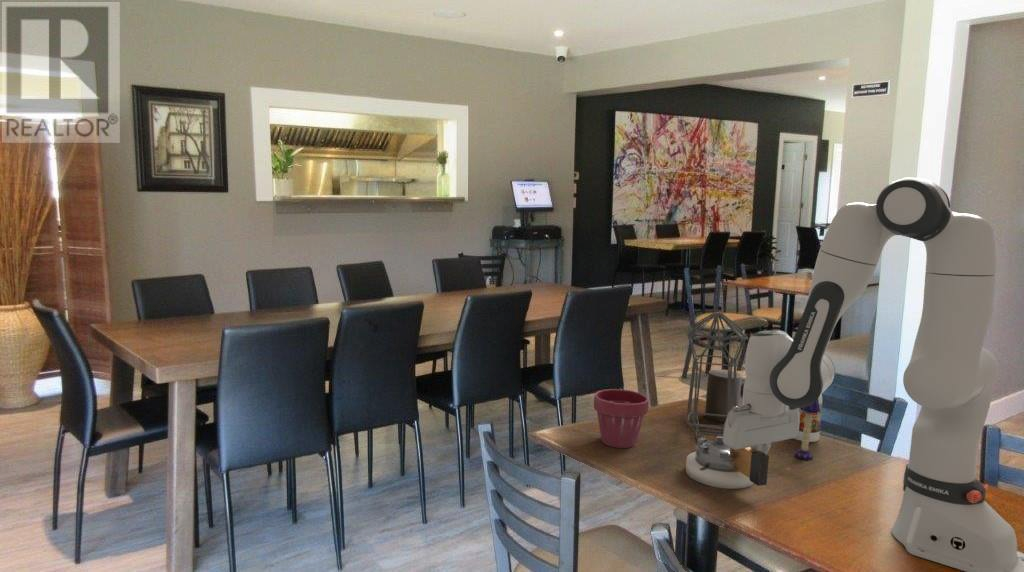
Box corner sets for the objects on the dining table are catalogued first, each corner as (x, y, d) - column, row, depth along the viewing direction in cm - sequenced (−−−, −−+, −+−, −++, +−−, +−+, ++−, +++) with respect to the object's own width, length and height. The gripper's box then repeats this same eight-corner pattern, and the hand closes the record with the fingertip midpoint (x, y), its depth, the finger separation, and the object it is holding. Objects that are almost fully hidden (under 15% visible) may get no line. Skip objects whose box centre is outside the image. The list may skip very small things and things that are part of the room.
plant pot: (645, 435, 192) (647, 390, 190) (646, 454, 178) (649, 405, 177) (593, 431, 194) (595, 386, 192) (590, 449, 180) (593, 401, 179)
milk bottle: (783, 435, 196) (788, 365, 193) (803, 431, 199) (809, 363, 196) (804, 444, 189) (811, 372, 186) (825, 440, 192) (831, 370, 189)
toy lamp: (811, 454, 181) (817, 392, 179) (817, 461, 176) (823, 398, 174) (792, 453, 182) (798, 391, 179) (798, 460, 177) (803, 396, 175)
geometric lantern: (680, 442, 187) (687, 314, 183) (683, 426, 202) (689, 306, 198) (742, 449, 183) (750, 318, 179) (740, 432, 198) (748, 310, 194)
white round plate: (769, 478, 165) (770, 465, 165) (729, 494, 155) (730, 481, 155) (712, 457, 177) (713, 445, 177) (672, 471, 167) (672, 458, 167)
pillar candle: (705, 420, 206) (709, 371, 204) (704, 410, 216) (708, 363, 214) (739, 424, 204) (744, 374, 202) (737, 414, 214) (741, 366, 211)
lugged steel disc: (685, 454, 170) (687, 426, 169) (727, 450, 173) (729, 423, 172) (738, 490, 150) (741, 458, 149) (784, 484, 154) (787, 453, 153)
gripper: (740, 411, 147) (735, 474, 149) (806, 400, 157) (801, 459, 158) (718, 403, 153) (714, 464, 154) (783, 393, 162) (779, 450, 164)
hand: (759, 461), depth 156 cm, fingers closed
